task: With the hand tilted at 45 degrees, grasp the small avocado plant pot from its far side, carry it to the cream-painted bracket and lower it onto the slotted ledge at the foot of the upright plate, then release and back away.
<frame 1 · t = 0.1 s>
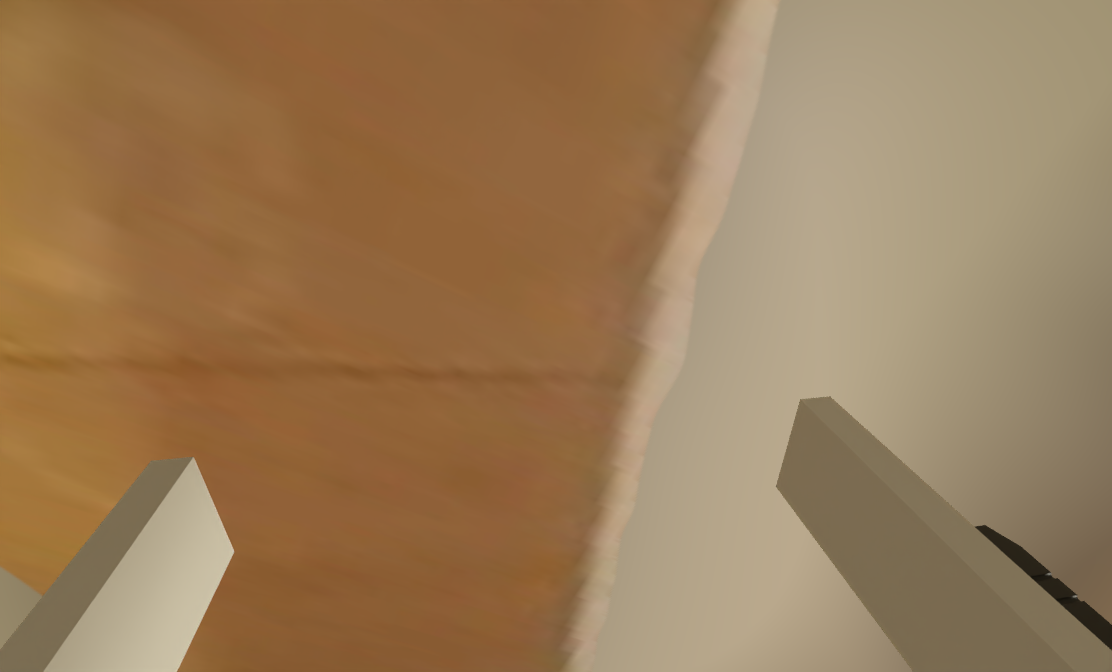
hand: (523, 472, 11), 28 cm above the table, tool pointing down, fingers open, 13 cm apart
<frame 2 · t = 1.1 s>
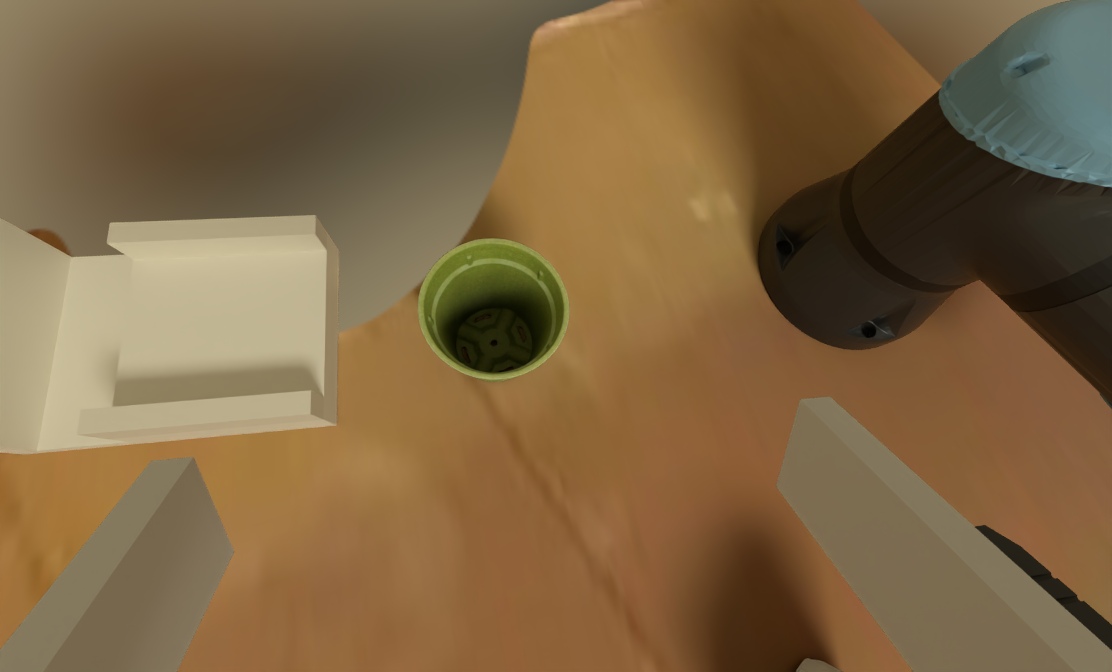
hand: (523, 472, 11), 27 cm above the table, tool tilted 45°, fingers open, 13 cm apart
bracket shelf: (246, 339, 38), on the table
plant pot: (495, 345, 40), on the table
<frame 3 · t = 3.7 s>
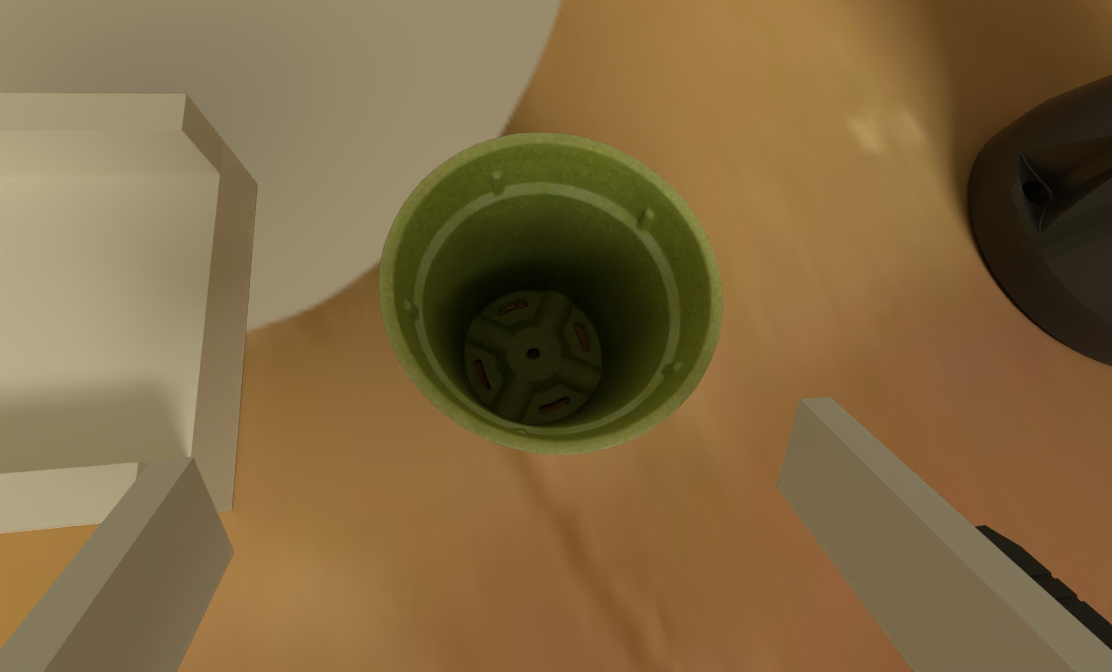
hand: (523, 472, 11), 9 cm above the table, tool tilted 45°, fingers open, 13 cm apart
bracket shelf: (69, 341, 20), on the table
plant pot: (534, 357, 22), on the table
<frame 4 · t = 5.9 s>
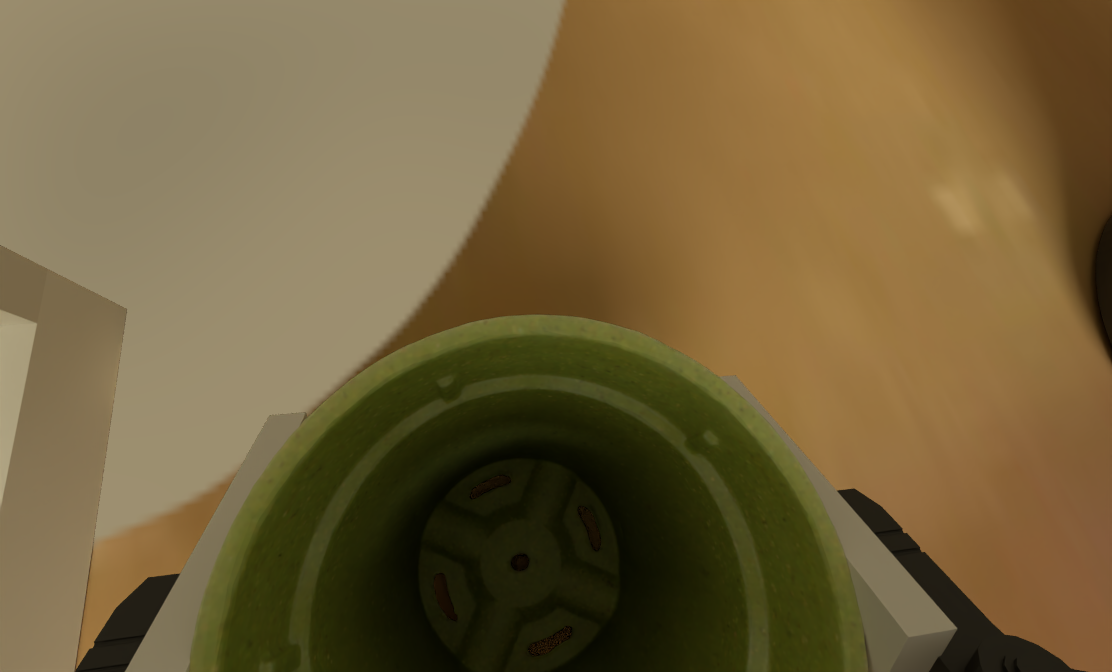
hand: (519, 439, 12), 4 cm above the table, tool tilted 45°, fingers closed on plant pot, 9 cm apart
plant pot: (522, 557, 15), on the table, touching gripper
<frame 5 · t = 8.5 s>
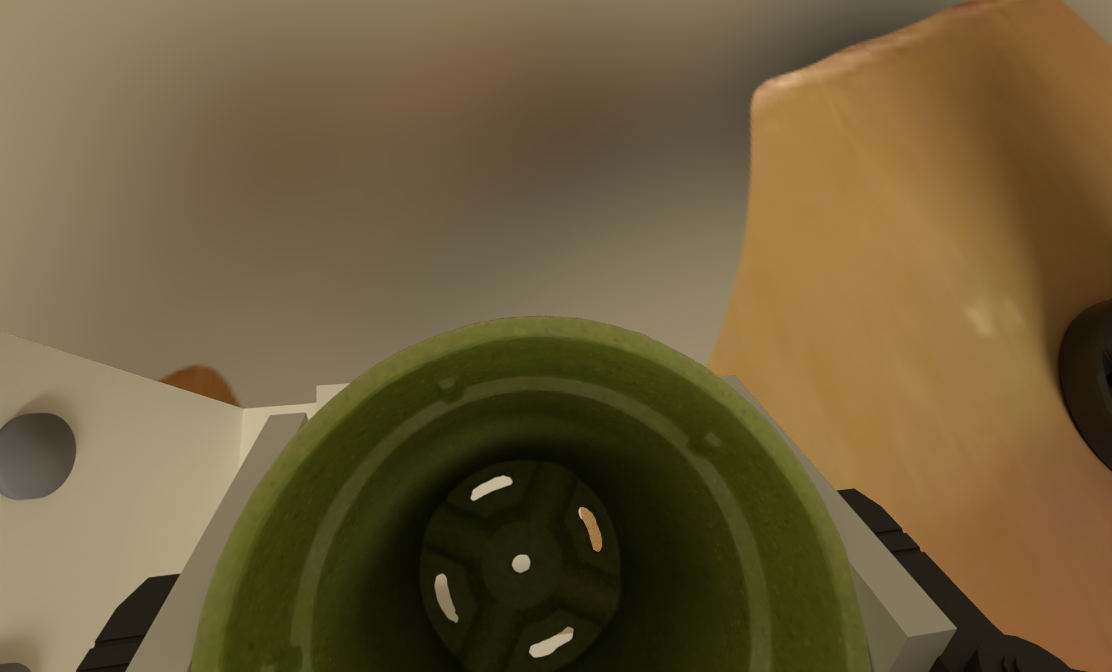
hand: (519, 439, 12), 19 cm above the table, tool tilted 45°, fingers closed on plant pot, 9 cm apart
bracket shelf: (462, 514, 29), on the table
plant pot: (523, 558, 15), point 15 cm above the table, touching gripper
when the fingers open (8 cm above the table, at t = 11.1 s): plant pot drops 1 cm, resting on bracket shelf.
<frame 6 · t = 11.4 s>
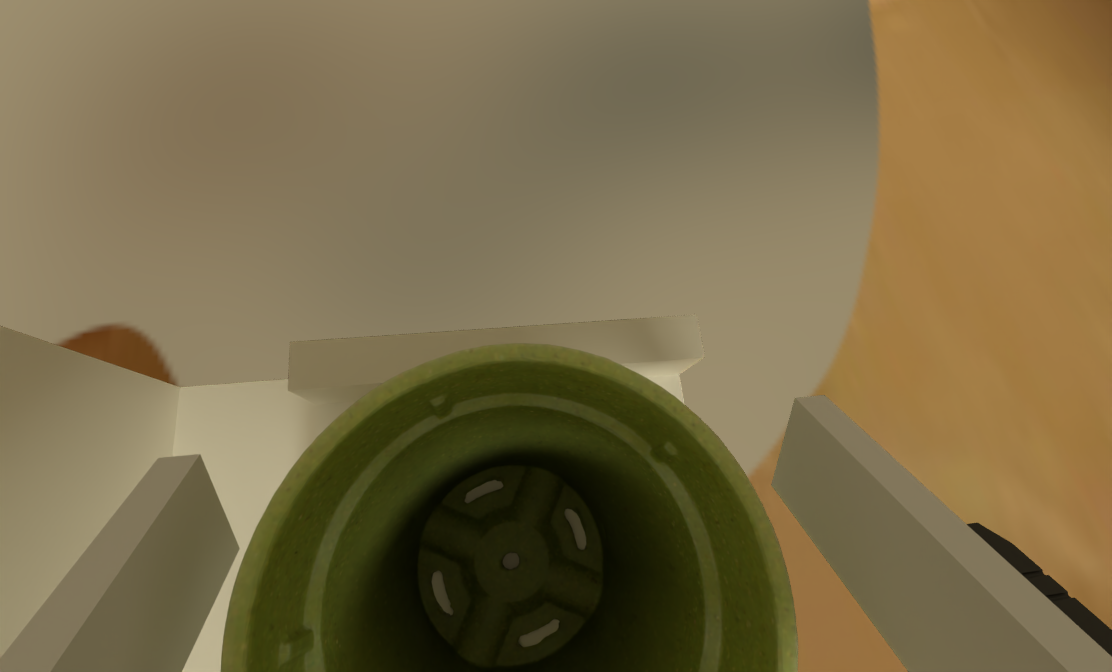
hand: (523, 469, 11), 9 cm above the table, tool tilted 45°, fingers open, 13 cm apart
bracket shelf: (516, 544, 19), on the table
plant pot: (513, 556, 17), point 3 cm above the table, touching bracket shelf
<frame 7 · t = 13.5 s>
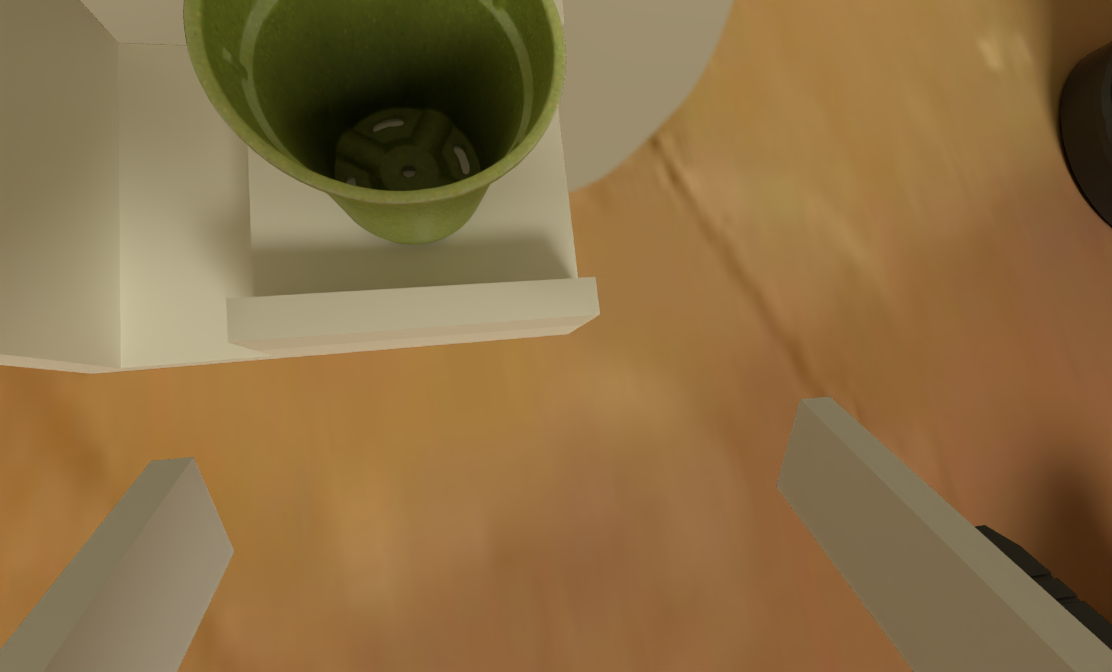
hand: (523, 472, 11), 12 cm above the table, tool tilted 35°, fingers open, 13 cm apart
bracket shelf: (421, 201, 24), on the table
plant pot: (412, 178, 22), point 3 cm above the table, touching bracket shelf
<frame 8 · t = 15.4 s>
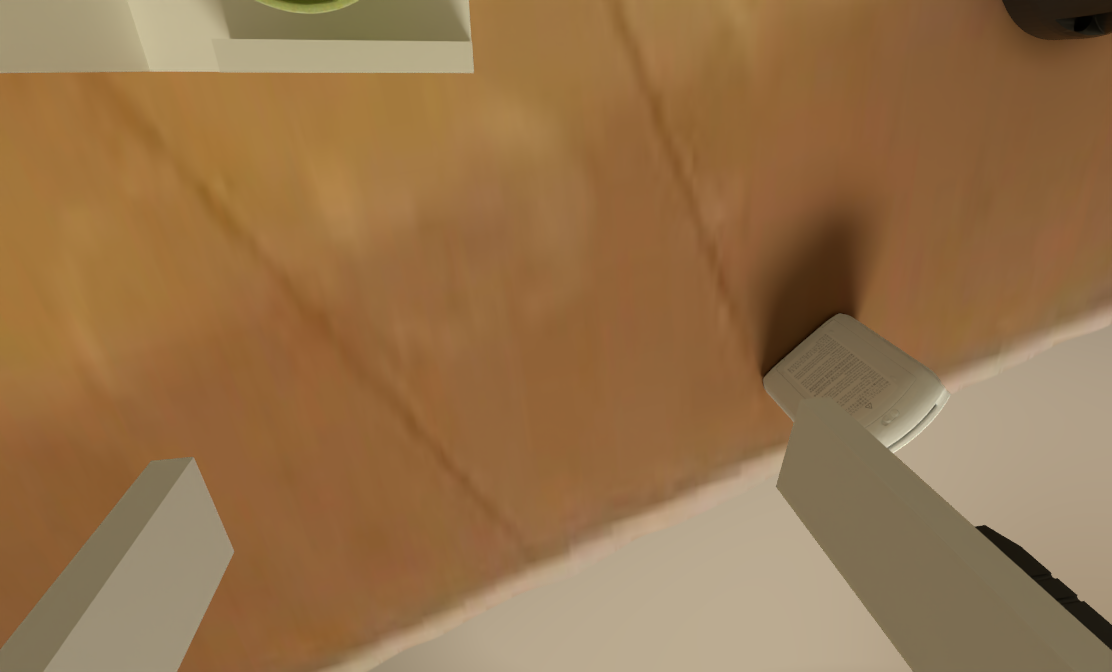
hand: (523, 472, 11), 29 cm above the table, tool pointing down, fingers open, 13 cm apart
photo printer: (805, 354, 48), on the table
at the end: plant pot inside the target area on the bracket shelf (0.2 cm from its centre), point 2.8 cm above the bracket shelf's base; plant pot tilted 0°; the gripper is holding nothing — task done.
